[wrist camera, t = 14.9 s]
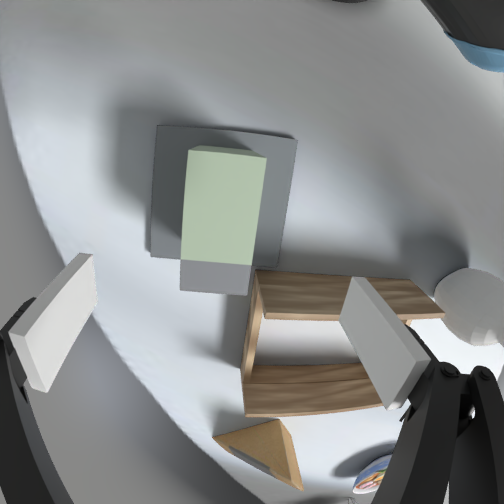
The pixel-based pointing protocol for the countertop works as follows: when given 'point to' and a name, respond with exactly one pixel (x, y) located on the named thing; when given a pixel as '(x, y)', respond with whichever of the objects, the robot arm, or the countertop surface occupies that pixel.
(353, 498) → the flower bouquet
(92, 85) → the countertop surface
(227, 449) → the sandwich container
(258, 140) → the slate mat
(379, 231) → the countertop surface
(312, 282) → the wooden display shelf
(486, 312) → the soap bottle
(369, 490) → the ramen bowl
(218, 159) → the capped box
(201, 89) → the countertop surface
